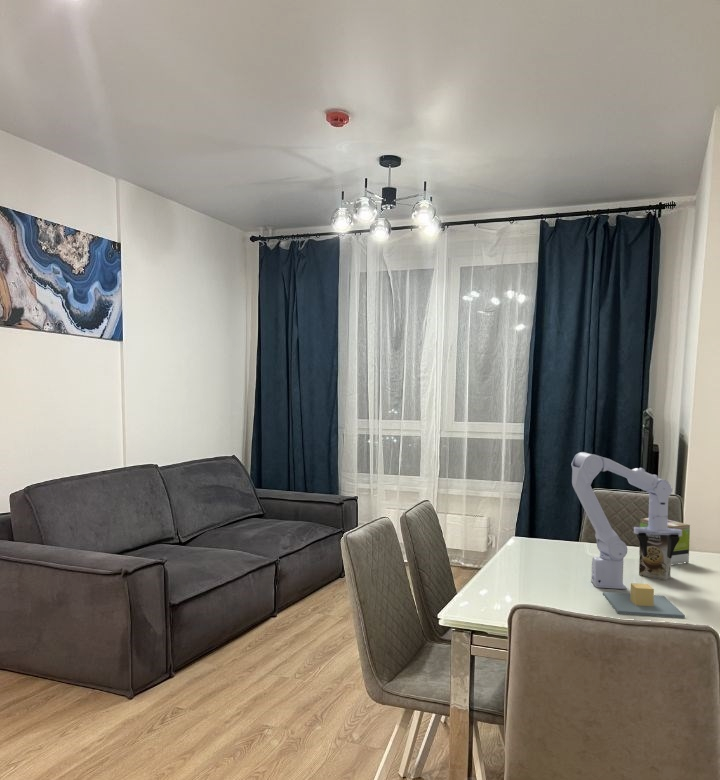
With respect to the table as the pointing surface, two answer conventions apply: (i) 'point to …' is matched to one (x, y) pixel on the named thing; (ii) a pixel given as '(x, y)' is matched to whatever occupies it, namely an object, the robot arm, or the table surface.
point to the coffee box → (655, 558)
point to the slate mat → (659, 607)
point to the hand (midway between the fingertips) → (657, 556)
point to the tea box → (682, 546)
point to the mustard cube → (642, 594)
